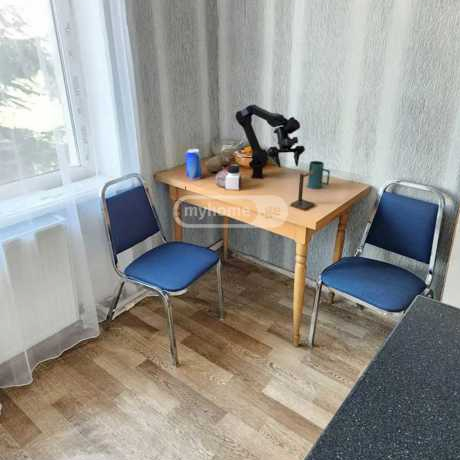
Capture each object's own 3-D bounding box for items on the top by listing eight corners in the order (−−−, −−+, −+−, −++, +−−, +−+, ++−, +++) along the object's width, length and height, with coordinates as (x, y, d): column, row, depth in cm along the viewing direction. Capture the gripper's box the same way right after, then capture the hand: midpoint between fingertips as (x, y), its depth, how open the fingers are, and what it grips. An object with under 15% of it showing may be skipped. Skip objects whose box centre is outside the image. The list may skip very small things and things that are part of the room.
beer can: (204, 176, 225) (203, 149, 218) (198, 181, 218) (197, 153, 211) (190, 174, 228) (189, 147, 221) (184, 179, 220) (182, 151, 214)
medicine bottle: (238, 190, 205) (238, 168, 200) (225, 189, 206) (225, 167, 201) (241, 185, 211) (241, 164, 206) (228, 184, 212) (228, 163, 207)
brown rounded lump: (215, 164, 248) (196, 166, 232) (218, 152, 246) (199, 154, 229) (232, 172, 243) (213, 174, 226) (235, 160, 240) (217, 161, 223)
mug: (305, 186, 210) (307, 163, 204) (312, 183, 214) (314, 160, 209) (323, 192, 202) (326, 168, 197) (331, 188, 207) (334, 164, 201)
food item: (228, 189, 206) (228, 171, 202) (214, 187, 209) (214, 169, 205) (238, 181, 217) (238, 164, 213) (225, 179, 220) (225, 162, 216)
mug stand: (290, 205, 187) (292, 176, 181) (309, 196, 197) (312, 168, 191) (304, 210, 182) (306, 181, 176) (323, 200, 192) (326, 172, 186)
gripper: (270, 131, 191) (276, 161, 187) (306, 130, 195) (312, 159, 191) (264, 141, 201) (269, 169, 197) (298, 139, 205) (303, 167, 202)
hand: (288, 166), depth 197 cm, fingers open, 9 cm apart
